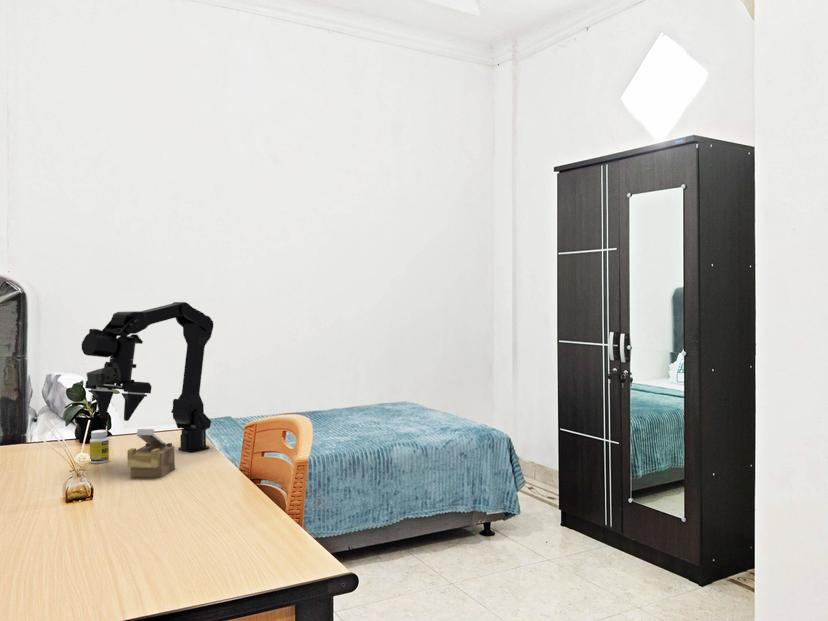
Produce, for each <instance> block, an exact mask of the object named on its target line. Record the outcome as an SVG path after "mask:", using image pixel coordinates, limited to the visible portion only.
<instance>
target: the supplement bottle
mask: <svg viewBox="0 0 828 621" xmlns="http://www.w3.org/2000/svg"><path fill="white" fill-rule="evenodd" d="M90 432H91V433H90V436H91V438H90V440H89V460H90V459H91V462H90V463H91V464H105V463H107V462H109V460H110V452H109V451H110V447H109V446H110V444H109V443H110V442H109V437H108V430H107V429H97V430H92V431H90Z"/></svg>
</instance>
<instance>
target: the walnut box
mask: <svg viewBox="0 0 828 621" xmlns="http://www.w3.org/2000/svg"><path fill="white" fill-rule="evenodd" d="M166 444H167V446H150V445H149V444H148V443H146V442H145V445H144V446H141V447H140V448H138V449H137V448H129V449H127V450H126V451H127V455H126V456H127V457H126V458H127V468H130V478H163V477H164V476H166V475H168V474H169V473H171V472H172V471H174V470H175V469H176V466H175V465H176V463H175V456H176V455H175V446H174V445H173V443H172V442H168V443H166Z"/></svg>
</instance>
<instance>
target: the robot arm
mask: <svg viewBox="0 0 828 621" xmlns="http://www.w3.org/2000/svg"><path fill="white" fill-rule="evenodd" d="M171 319H175V320H176V323H177V324H178V325H179V326H181V327H182V334H183V337H184V340H185V342H186V351H185V352H186V353H185V362H184V370H183V378H182V380H183V381H182V388H181V394H180V395H179V397H178V398H174V399H173V400H172V409H171V414H172V419H173V420H174V421H175V424H176V427H177V429H181V434H180V436H179V437H180V446H179V447H178V450H180V451H184V452H189V453H193V452H198V451H202V450H207V449H210V446H209V445H207V435H206V434H207V429H210V428H211V425H212V420H211V419H210V418H209V417H208V416H207V415H206V414H205V412H204V402H203V400H202V397H201V395H200V392H201V385H202V384H201V383H202V373H203V366H204V365H203V364H204V358H205V357H204V355H205V346H206V345H207V343H208V342H209V341H210V339H211V338H212V334H213V331H214V330H213V329H214V320H212V318H211V317H210V316H208V315H206V314H205V313H204V312H202V311H200V310H198V309H196V308H194V307H193V306H191V304H189V303H188V302H186V301H174V302H172V303H169V304H165V305H160V306H156V307H154V308H149V309H145V310H141V311H132V310H131V311H117V312H115V313H113V314H112V317H111V320H110V321H108V323H107V324H106V325H105V326H104V327H103V328H102V330H101V329H98V328H90V329H89V331H88V333H87V334H86V335H85V336H84V338H83V340H82V341H81V351H82V354H84V355H85V356H88V357H89V356H90V357H99V358H109V361H105V362H104V364H103V365H104V366H103V367H102V368H98V369H94V370H92V371H88V372H86V377H87V380H85V387H84V388H85V389H87V390H88V392H89V393H90V394H92V396H93V397H94V398H95V402H96V406H97V409H98V414H99V418H100V419H105V417H106V414H107V413H108V409H109V407H110V404H111V401H112V399H113V395H114V393H115V392H114V391H112V390H113V389H114V390H122V391H123V392H122V393H121V394H120V395H122V397H123V399H124V405H123V406H124V409H123V421H125V422H128V421H129V420H130V419H131V417H132V416H133V414H134V413H135V411H136V409H137V408H138V406H139V405H140V404H141V402H142V401H143V400H144V399H145V397H148V394H152V385H151V383H150V382H149V381H148V382H147V381H146V382H144V381H135V379H132V374H133V369H136V368H137V364H136V363H134V357H135V350H136V344H138V345H139V344H140V345H141V344H143V343H144V341H143V340H142V339H141V338H140V336H139V335H138V333H140V332H142V331H144V330H146V329H147V328H148V327H149V326H151V325H154V324H158V323H161V322H164V321H168V320H171Z"/></svg>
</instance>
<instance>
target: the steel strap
mask: <svg viewBox="0 0 828 621" xmlns="http://www.w3.org/2000/svg"><path fill="white" fill-rule="evenodd" d="M154 432H155V429H152V428H147V429H145V428H137V431H136V436H137V437H139V438H140V439H141V440H143V441H144V442H145V444H146V443H148V444H149V445H150V446H167V444H168V443H166V442H165V441H163V440H162V439H161V438H160V437H158V436H157V435H156V434H155V433H154Z"/></svg>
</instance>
